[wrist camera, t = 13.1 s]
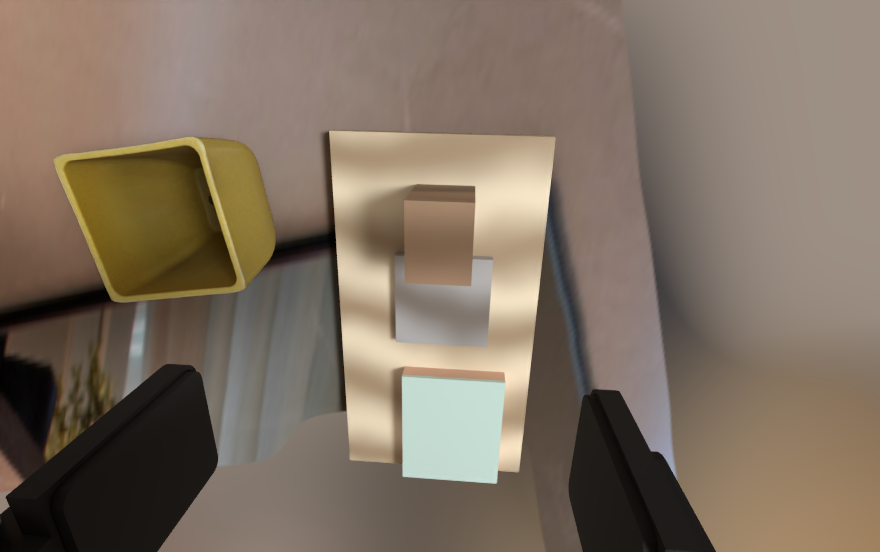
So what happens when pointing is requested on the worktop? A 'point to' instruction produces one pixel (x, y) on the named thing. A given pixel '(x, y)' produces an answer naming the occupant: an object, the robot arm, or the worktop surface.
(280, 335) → the worktop surface
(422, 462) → the tile
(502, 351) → the board
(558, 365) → the worktop surface
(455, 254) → the block on grey plate
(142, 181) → the flower pot
